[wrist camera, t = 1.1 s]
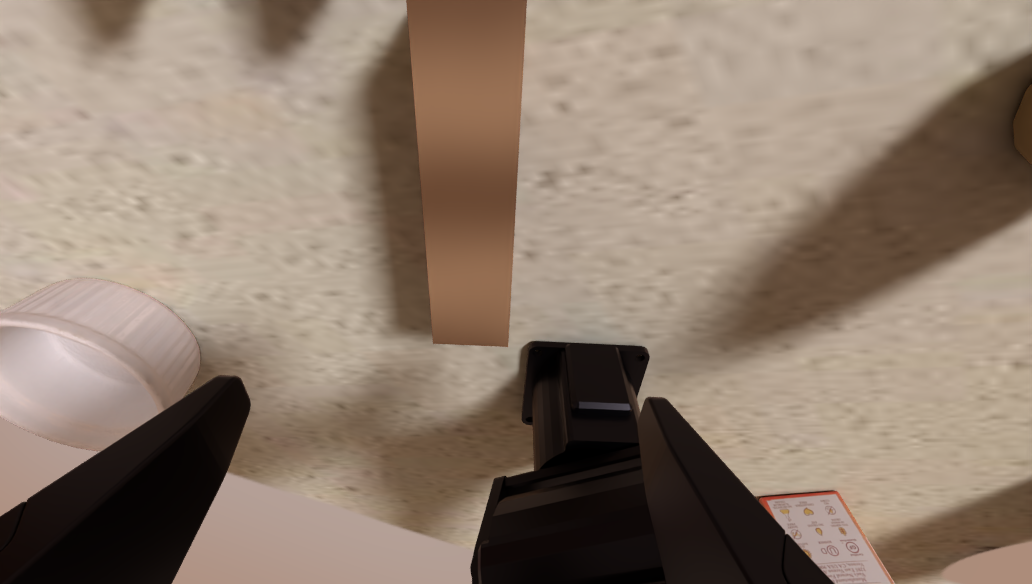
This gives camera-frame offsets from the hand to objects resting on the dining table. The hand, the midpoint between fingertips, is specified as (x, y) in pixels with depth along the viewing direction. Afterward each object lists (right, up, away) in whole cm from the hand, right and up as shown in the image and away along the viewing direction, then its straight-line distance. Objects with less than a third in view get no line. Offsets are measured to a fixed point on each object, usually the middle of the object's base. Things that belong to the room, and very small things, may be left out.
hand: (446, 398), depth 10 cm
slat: (0, +8, +8) cm, 12 cm away
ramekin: (-20, 0, +15) cm, 24 cm away
